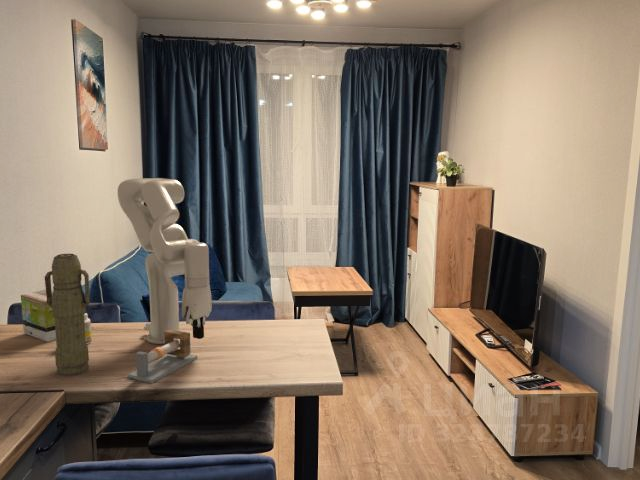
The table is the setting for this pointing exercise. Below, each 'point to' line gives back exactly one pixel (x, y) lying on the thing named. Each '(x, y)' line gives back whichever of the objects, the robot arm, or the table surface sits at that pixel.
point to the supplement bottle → (87, 329)
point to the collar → (184, 342)
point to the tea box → (38, 316)
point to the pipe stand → (159, 362)
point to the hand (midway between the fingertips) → (198, 337)
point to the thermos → (69, 313)
